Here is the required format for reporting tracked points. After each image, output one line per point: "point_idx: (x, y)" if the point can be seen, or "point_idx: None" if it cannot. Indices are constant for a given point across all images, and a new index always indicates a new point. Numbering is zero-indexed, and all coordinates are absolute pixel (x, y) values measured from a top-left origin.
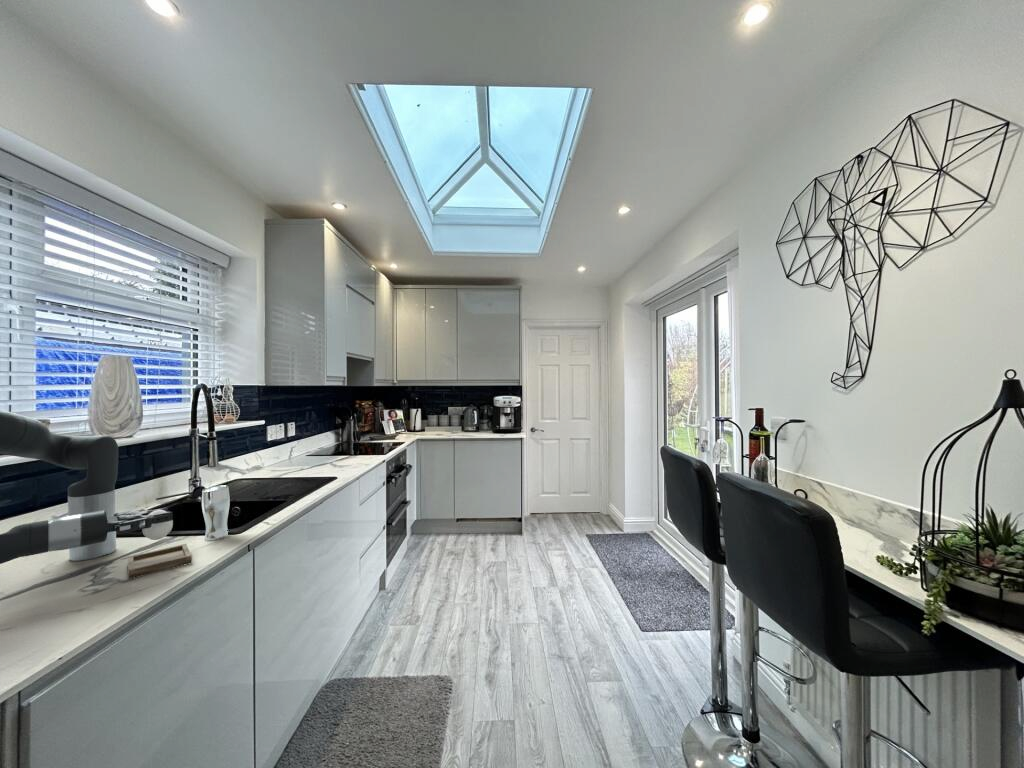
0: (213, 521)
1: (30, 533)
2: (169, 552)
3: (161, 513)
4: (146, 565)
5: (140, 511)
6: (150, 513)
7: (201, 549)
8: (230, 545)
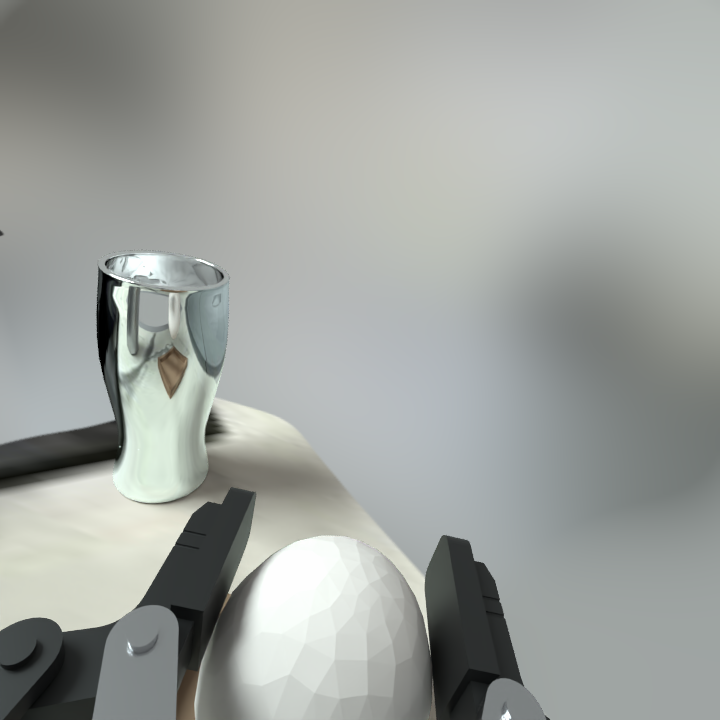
0: (193, 427)
1: None
2: (180, 687)
3: (467, 601)
4: None
5: (96, 705)
6: (342, 659)
7: (255, 566)
8: (324, 501)
